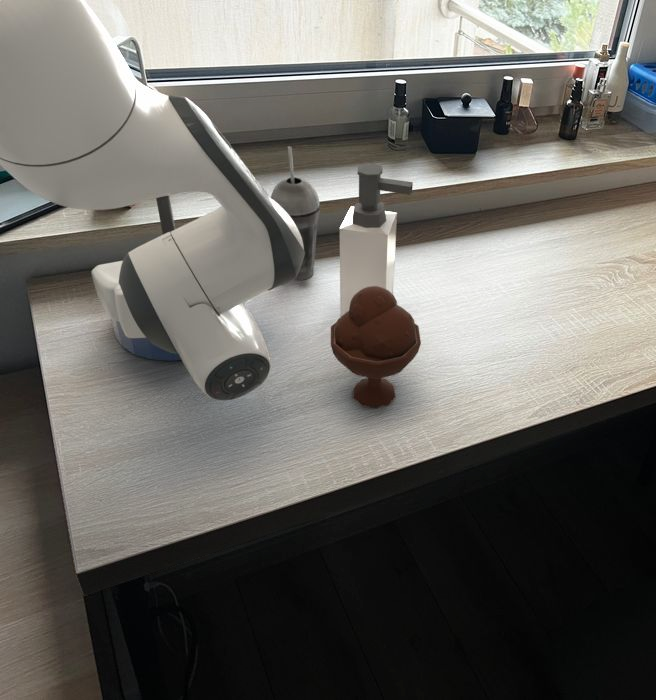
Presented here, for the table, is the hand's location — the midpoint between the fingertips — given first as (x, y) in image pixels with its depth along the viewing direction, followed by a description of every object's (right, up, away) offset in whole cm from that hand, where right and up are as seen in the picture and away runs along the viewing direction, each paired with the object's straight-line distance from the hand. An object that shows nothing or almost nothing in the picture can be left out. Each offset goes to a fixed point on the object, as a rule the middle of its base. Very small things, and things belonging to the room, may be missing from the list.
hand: (169, 243), depth 94 cm
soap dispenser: (+25, -8, +13) cm, 29 cm away
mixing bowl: (-1, -11, +5) cm, 12 cm away
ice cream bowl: (+27, -20, -2) cm, 33 cm away
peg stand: (-1, -8, +6) cm, 10 cm away
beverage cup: (+13, -2, +18) cm, 22 cm away
